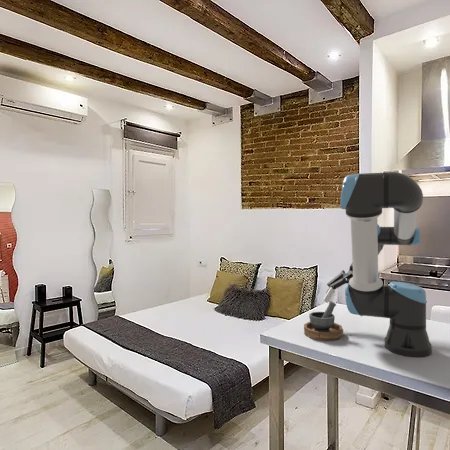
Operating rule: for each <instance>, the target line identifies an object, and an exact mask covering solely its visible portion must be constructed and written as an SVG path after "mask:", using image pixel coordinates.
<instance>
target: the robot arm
mask: <svg viewBox="0 0 450 450" xmlns="http://www.w3.org/2000/svg"><path fill="white" fill-rule="evenodd" d="M340 193H341V194H340V209H341V210H345V215H346V217H348V218H349V219H350V231H351V232H350V236H351V256H352V259H351V261H352V262H351V264H350V266H349V269H348V271H345V270H344V269H342V270H341V271H340V273H338V274H337V275H336V276H335V277H333V278H332V279H331V280H330V281H329V282H327V284H326V286H328V289H327V290H326V291H325V293H326V294H325V295H324V297H323V301H324V302H325V303H326V304H329V302H330V300H331V298H332V297H333V296H334V294H335V292H336V291H335V290H336V289H339V288H340V287H342V286H343V285H345V286H344V287H345V288H344V293H345V294H344V295H345V304H346V308H347V311H348V312H349V313H350V314H352V315H357V316H360V317H364V316H365V317H373V318H374V317H375V318H383V319H384V318H385V319H389V326H388V328H387V332H386V336H385V337H384V343H383V344H384V347H385V348H386V349H387V350H388V351H390V352H392V353H393V354H394V353H395V354H397V355H402V356H406V357H413V358H419V357H422V358H423V357H428V356H430V355H431V354H432V351H433V346H432V343H431V341H430V338H429V337H430V336H429V334H428V331H427V303H428V301H427V293H426V290H425V289H424V288H423V287H421V286H419V285H417V284H413V283H408V282H403V281H391V282H389V285H385V284H384V283H383V282H384V281H383V280H382V279H381V278H380V277H379V255H380V254H381V251H382V250H383V248H384V246H387V245H388V246H390V245H391V246H409V247H410V246H418V245H420V244H421V229H420V228H419V227H418V226H417V221H418V211H419V210H420V208H421V206H422V205H423V202H424V194H423V190H422V188H421V186H420V185H419V183H417V182H416V181H415V180H414V179H413V178H412V177H410V176H408V175H406V174H405V173H402V172H397V171H387V172H370V173H366V172H365V173H354V174H347V175H346V176H345V177H344V178H343V182H342V186H341V192H340ZM383 209H393V226H380V225H379V223H378V218H379V217H380V216H381V215H382V213H383Z"/></svg>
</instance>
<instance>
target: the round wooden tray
mask: <svg viewBox="0 0 450 450" xmlns="http://www.w3.org/2000/svg"><path fill="white" fill-rule="evenodd" d="M303 330H304V331H303V332H304V335H305V336H306V337H308V338H309V339H313V340H316V341H323V342H325V341H327V342H328V341H329V342H330V341H337V340H340V339H342V337H343V334H344V328H343V326H342V325H341V324H339V323H336V322H334V324H333V326H332V327H331V328H330V332H318V331H314V327H313V326H312V324H311V322H310V321H308V322H306V323H304V324H303Z"/></svg>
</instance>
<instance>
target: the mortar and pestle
mask: <svg viewBox="0 0 450 450" xmlns="http://www.w3.org/2000/svg"><path fill="white" fill-rule="evenodd" d="M336 306H337V304H336V303H335V302H333V301H330V300H329V302H328V305H327V308H326V309H325V311H313V312H311V313H309V322H311V324H312V326H313V327H314V331H318V332H330V328H331V327H332V326H333V324H334V323H335V315H334V314H333V312H334V308H336Z"/></svg>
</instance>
